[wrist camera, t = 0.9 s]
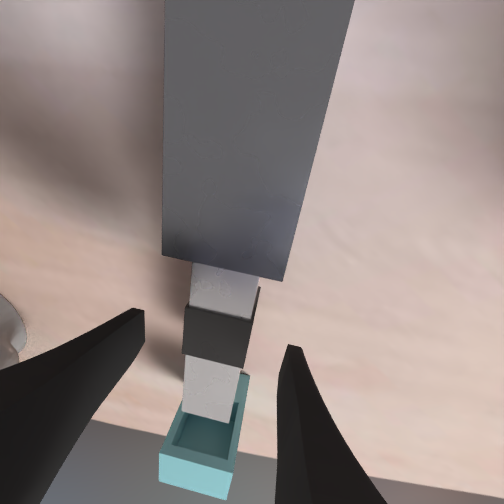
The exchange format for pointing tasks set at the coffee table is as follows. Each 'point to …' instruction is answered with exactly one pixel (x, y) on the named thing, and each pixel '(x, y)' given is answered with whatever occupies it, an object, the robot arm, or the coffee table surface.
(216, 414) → the metal square rod
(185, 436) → the teal socket
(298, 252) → the coffee table surface
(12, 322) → the coffee mug
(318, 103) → the graphite sleeve
